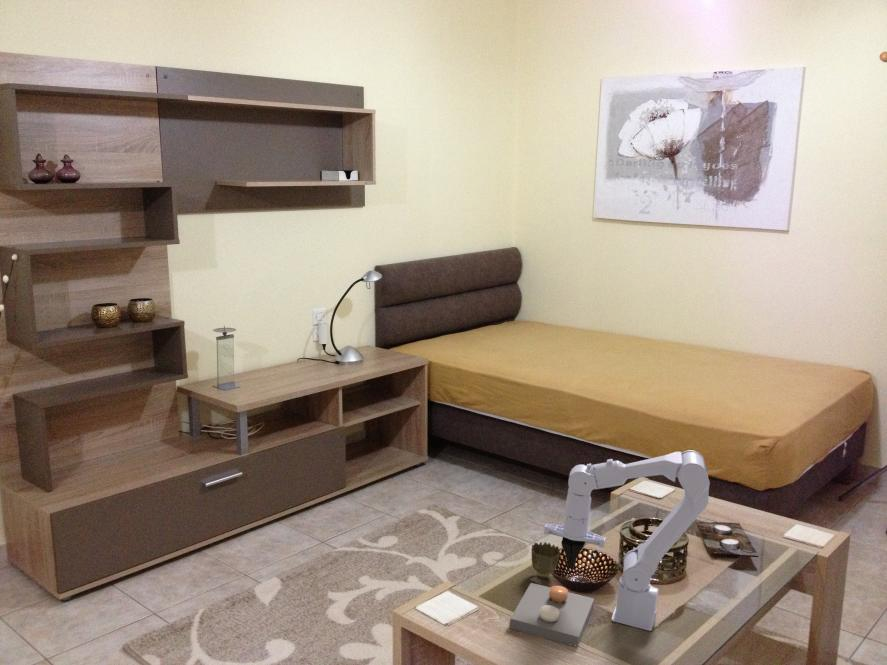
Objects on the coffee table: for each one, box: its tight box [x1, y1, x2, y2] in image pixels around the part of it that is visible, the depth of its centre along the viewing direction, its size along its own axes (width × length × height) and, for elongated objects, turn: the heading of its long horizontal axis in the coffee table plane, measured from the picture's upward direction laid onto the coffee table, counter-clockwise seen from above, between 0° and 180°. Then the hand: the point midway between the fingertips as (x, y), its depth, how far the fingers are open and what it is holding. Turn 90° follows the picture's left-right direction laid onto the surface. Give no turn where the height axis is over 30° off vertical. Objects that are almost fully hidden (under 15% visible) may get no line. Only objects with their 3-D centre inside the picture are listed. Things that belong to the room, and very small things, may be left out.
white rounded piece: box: [539, 605, 559, 623], centre depth 190 cm, size 4×4×4 cm
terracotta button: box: [549, 585, 569, 604], centre depth 198 cm, size 4×4×4 cm
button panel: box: [509, 582, 595, 647], centre depth 194 cm, size 16×18×2 cm
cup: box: [530, 541, 561, 580], centre depth 212 cm, size 8×7×8 cm
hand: (570, 566), depth 198 cm, fingers closed
